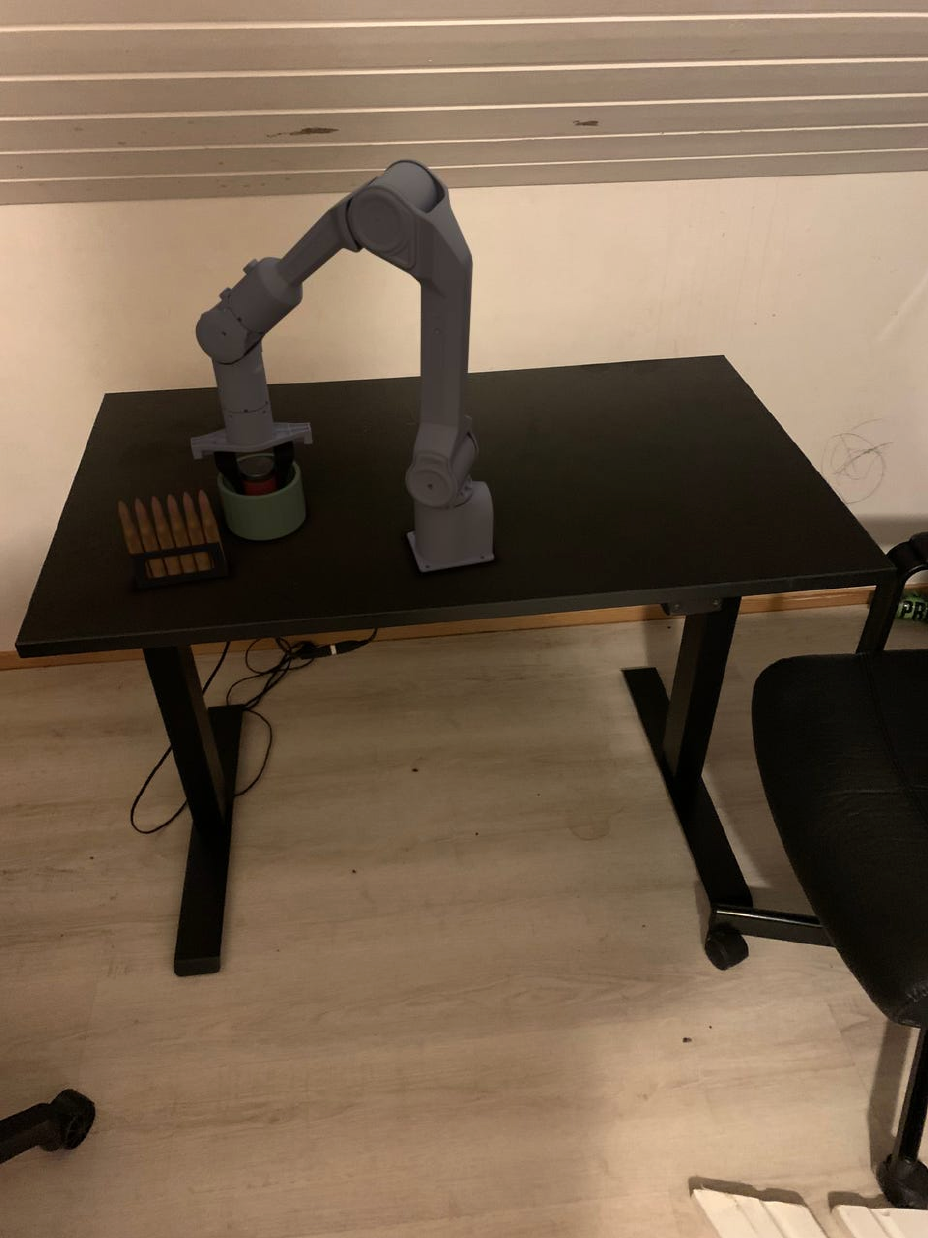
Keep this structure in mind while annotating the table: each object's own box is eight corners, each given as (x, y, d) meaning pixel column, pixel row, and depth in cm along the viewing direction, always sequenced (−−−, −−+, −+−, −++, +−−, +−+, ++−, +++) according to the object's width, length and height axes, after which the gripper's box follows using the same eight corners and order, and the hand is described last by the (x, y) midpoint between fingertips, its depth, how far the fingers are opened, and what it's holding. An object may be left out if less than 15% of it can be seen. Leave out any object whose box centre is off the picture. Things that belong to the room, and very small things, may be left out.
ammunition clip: (228, 565, 107) (209, 484, 99) (229, 575, 106) (209, 493, 98) (138, 579, 105) (111, 497, 97) (138, 588, 104) (111, 506, 96)
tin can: (279, 493, 116) (272, 454, 111) (283, 512, 112) (276, 472, 108) (245, 498, 115) (237, 459, 111) (248, 517, 111) (240, 477, 107)
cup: (300, 489, 119) (294, 448, 115) (311, 533, 112) (305, 491, 108) (224, 500, 117) (214, 459, 113) (229, 546, 110) (219, 503, 106)
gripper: (301, 378, 108) (314, 471, 117) (181, 393, 105) (204, 487, 114) (309, 405, 103) (321, 500, 112) (183, 422, 100) (207, 517, 109)
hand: (262, 496), depth 113 cm, fingers closed on tin can, 4 cm apart
